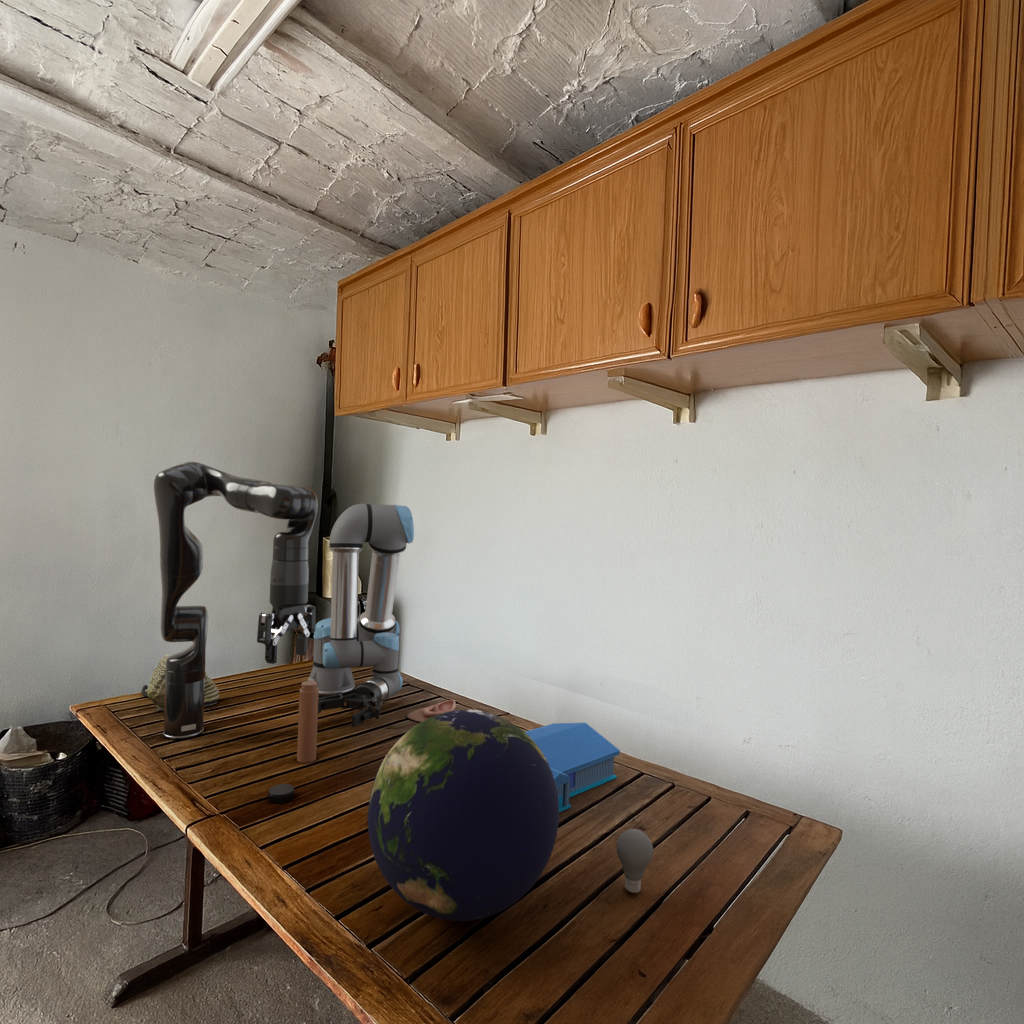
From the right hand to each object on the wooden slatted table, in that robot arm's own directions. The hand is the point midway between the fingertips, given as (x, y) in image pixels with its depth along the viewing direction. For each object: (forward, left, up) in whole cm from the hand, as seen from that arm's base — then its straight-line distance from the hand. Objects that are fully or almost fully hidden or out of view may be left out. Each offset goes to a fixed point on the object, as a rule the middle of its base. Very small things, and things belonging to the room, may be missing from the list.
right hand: (329, 718), depth 162 cm
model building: (+28, +47, -7) cm, 55 cm away
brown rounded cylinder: (+9, -4, -7) cm, 12 cm away
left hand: (+29, -6, +23) cm, 37 cm away
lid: (+29, -6, -5) cm, 30 cm away
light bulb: (+67, +56, -7) cm, 88 cm away
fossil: (-31, -44, -7) cm, 54 cm away
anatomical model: (-18, +27, -7) cm, 34 cm away
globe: (+68, +28, -7) cm, 73 cm away
